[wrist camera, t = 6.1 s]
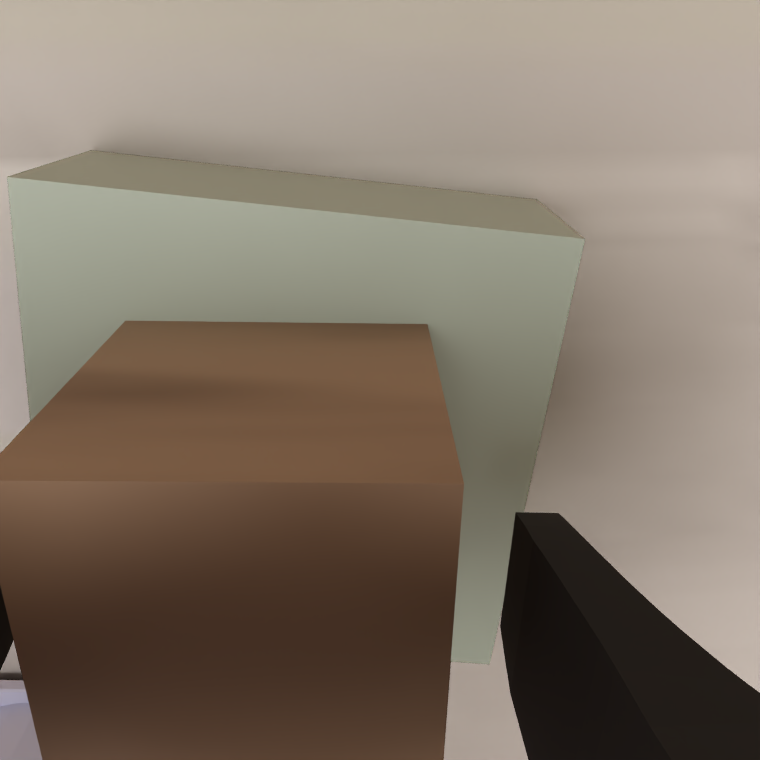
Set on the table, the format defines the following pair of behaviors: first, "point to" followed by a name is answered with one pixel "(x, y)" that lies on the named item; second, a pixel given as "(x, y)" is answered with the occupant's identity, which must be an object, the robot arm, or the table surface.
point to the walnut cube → (237, 546)
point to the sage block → (316, 299)
